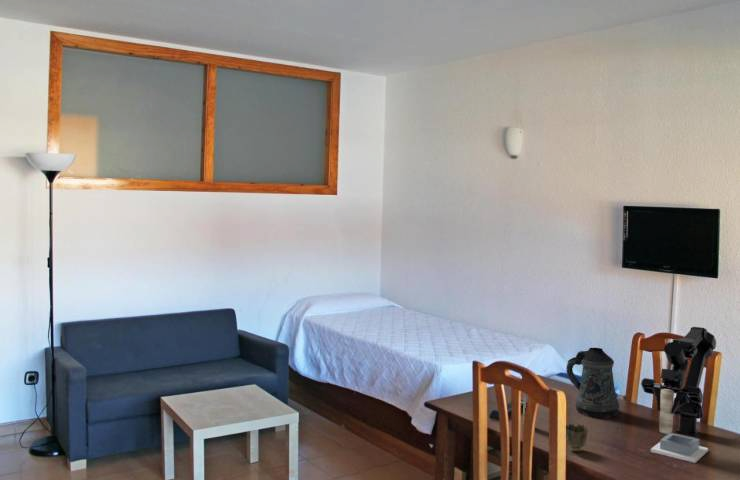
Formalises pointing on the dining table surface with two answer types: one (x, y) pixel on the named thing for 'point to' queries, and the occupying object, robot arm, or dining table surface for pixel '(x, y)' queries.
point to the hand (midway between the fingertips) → (665, 412)
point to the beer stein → (594, 384)
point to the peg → (666, 411)
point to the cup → (576, 436)
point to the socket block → (680, 447)
